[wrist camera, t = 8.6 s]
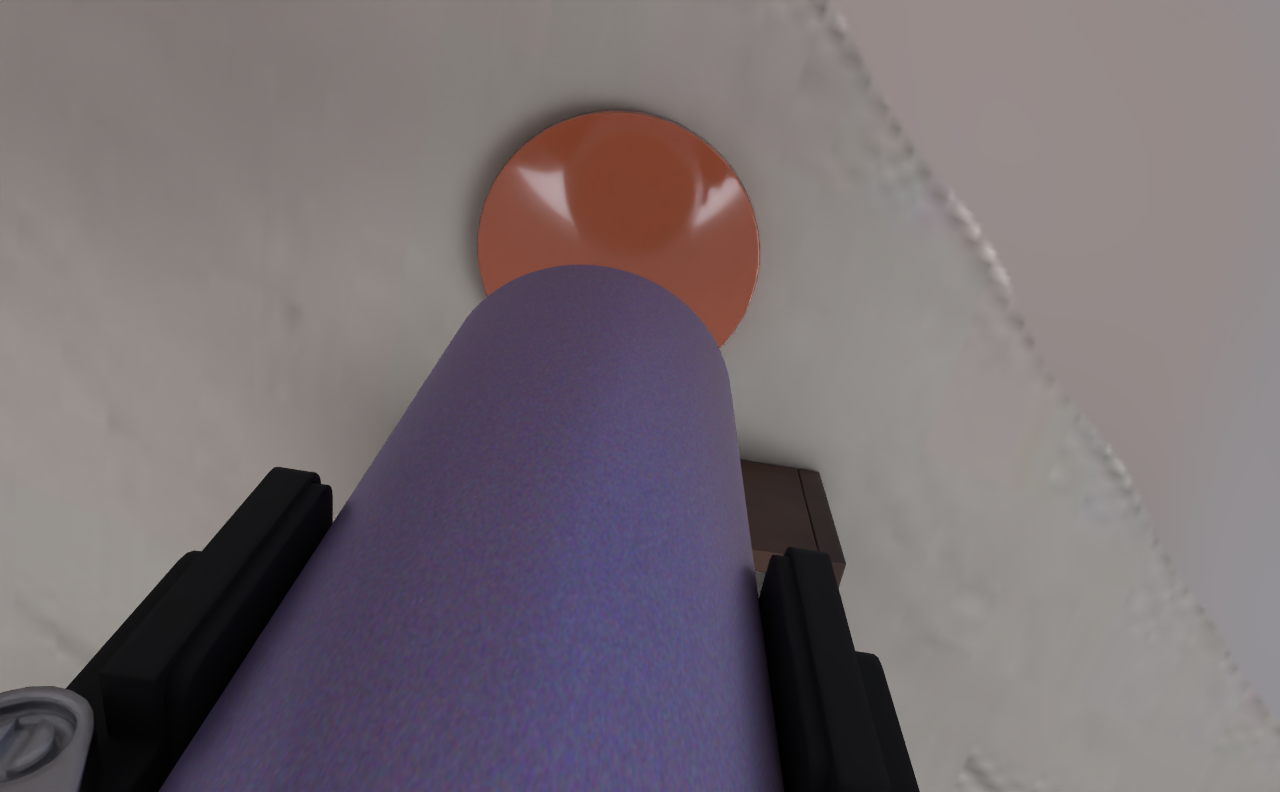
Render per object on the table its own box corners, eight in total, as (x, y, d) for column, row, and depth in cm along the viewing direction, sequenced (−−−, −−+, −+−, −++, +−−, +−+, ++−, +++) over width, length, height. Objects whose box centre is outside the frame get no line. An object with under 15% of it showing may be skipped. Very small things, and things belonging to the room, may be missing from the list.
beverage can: (525, 199, 17) (-138, 1101, 3) (783, 342, 18) (1131, 1488, 4) (408, 433, 19) (-265, 1535, 5) (642, 548, 20) (569, 1713, 6)
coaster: (470, 359, 29) (466, 365, 29) (491, 86, 26) (488, 88, 25) (727, 400, 30) (728, 407, 29) (787, 136, 26) (789, 138, 25)
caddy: (501, 652, 35) (472, 762, 30) (527, 425, 30) (498, 510, 26) (756, 690, 35) (769, 805, 30) (819, 471, 31) (846, 563, 26)
